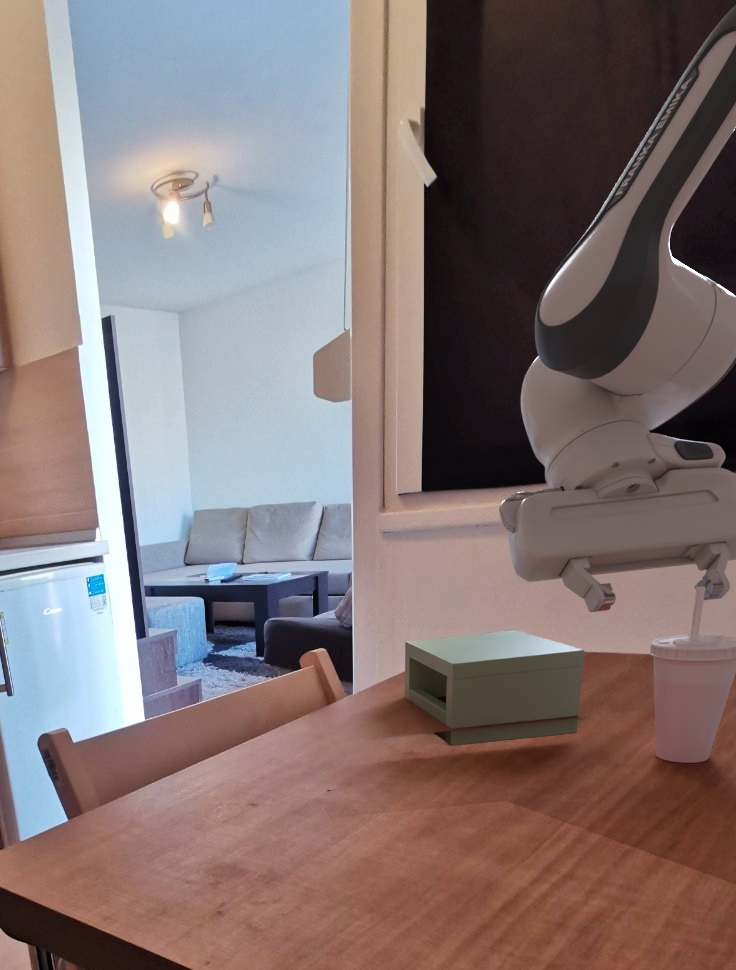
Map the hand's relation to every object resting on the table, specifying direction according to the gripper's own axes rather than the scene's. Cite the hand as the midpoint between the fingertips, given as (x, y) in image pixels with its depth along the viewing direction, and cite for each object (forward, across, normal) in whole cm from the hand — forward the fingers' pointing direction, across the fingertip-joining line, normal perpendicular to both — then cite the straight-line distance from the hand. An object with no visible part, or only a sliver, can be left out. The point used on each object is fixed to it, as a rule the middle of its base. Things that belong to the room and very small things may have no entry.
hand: (659, 601), depth 65 cm
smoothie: (+13, 0, +5) cm, 14 cm away
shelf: (+1, -10, +16) cm, 19 cm away
